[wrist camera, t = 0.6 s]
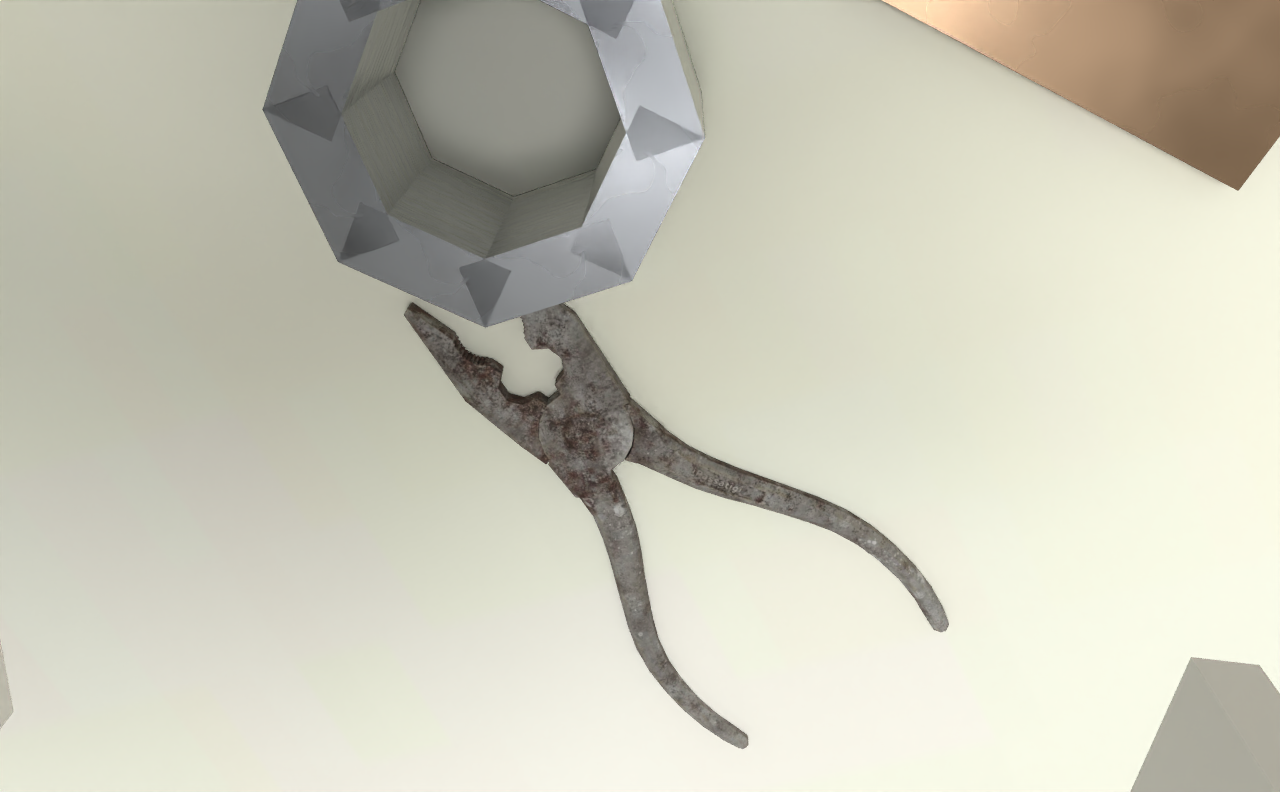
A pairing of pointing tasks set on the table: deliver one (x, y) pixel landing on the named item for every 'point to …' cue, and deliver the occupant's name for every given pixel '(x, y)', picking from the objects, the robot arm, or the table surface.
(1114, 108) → the piston post
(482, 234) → the ring
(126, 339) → the table surface
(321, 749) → the table surface
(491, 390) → the pliers
